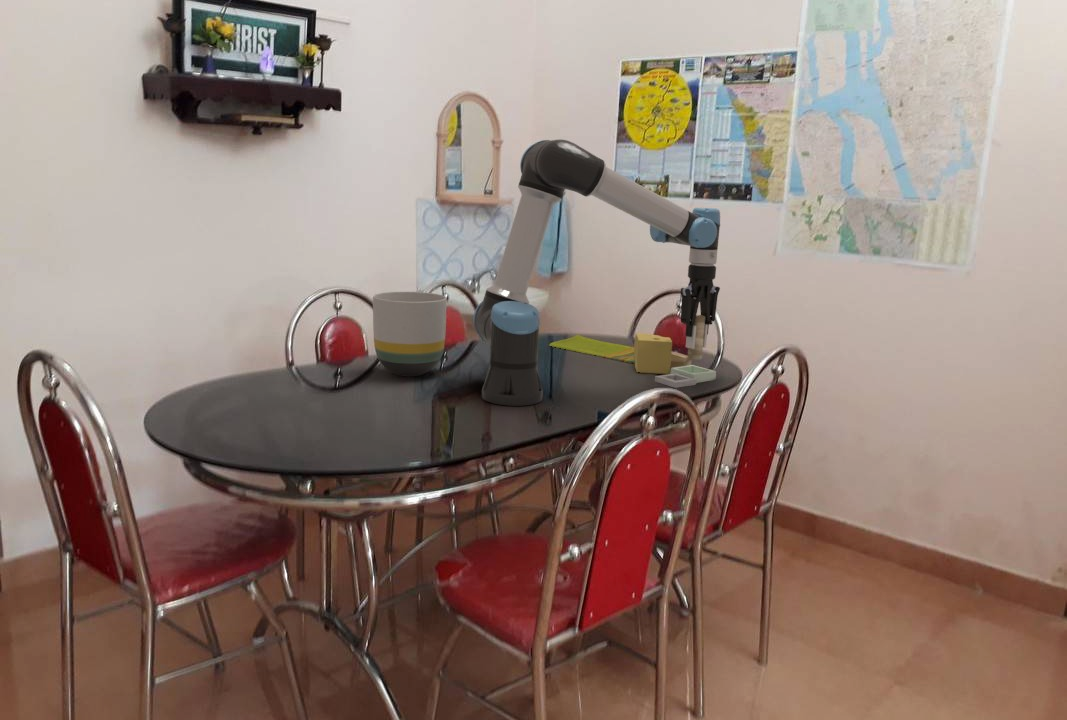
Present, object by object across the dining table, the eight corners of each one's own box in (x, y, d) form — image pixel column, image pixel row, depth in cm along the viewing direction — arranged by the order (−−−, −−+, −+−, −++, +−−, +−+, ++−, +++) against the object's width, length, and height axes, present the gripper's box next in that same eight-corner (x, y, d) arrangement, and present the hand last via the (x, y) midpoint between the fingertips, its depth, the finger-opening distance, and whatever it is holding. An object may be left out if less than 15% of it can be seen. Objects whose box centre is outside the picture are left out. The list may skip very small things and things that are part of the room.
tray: (693, 383, 232) (694, 374, 231) (670, 376, 239) (670, 367, 239) (715, 379, 237) (716, 371, 237) (692, 373, 244) (692, 364, 244)
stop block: (683, 370, 247) (684, 357, 246) (659, 364, 255) (660, 351, 254) (690, 369, 249) (691, 356, 248) (666, 363, 257) (667, 350, 256)
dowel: (684, 356, 238) (687, 315, 235) (695, 355, 240) (698, 314, 237) (694, 359, 234) (697, 317, 232) (704, 358, 236) (708, 316, 234)
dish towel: (639, 367, 252) (640, 356, 251) (547, 348, 274) (548, 338, 274) (666, 360, 263) (667, 350, 263) (576, 342, 286) (576, 333, 285)
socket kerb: (675, 387, 226) (675, 382, 226) (654, 381, 232) (655, 376, 232) (696, 384, 231) (696, 379, 230) (675, 378, 237) (675, 373, 236)
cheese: (667, 367, 251) (669, 334, 249) (670, 375, 241) (673, 341, 239) (632, 365, 252) (634, 332, 250) (634, 373, 241) (637, 339, 239)
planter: (423, 363, 242) (424, 290, 237) (458, 378, 226) (460, 299, 222) (360, 370, 230) (360, 293, 226) (393, 385, 215) (393, 303, 210)
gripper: (690, 266, 223) (684, 352, 228) (733, 264, 233) (726, 347, 238) (670, 263, 229) (664, 347, 234) (713, 262, 239) (706, 342, 244)
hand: (695, 347), depth 236 cm, fingers closed on dowel, 4 cm apart
